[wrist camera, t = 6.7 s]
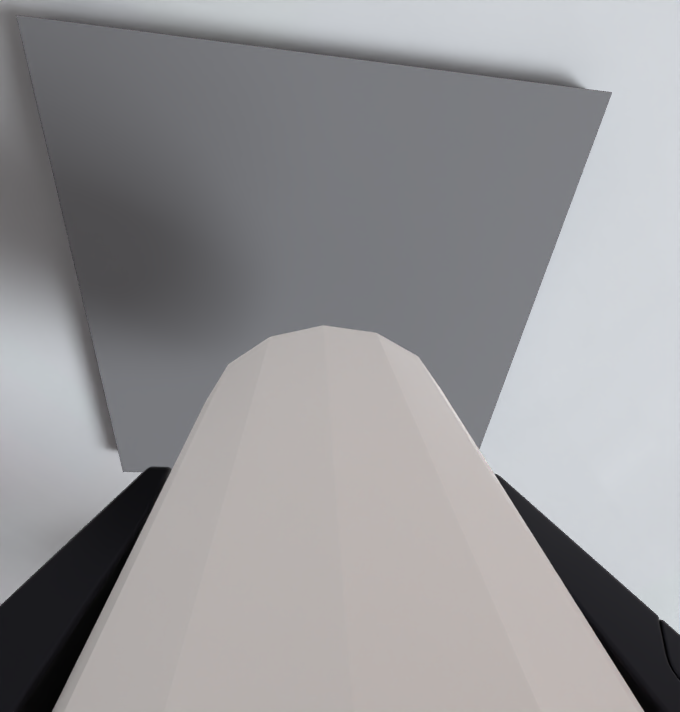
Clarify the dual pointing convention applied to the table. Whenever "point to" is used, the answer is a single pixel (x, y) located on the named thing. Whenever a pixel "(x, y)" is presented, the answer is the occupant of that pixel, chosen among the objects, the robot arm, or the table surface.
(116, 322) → the charcoal mat
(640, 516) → the table surface
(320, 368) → the shot glass
